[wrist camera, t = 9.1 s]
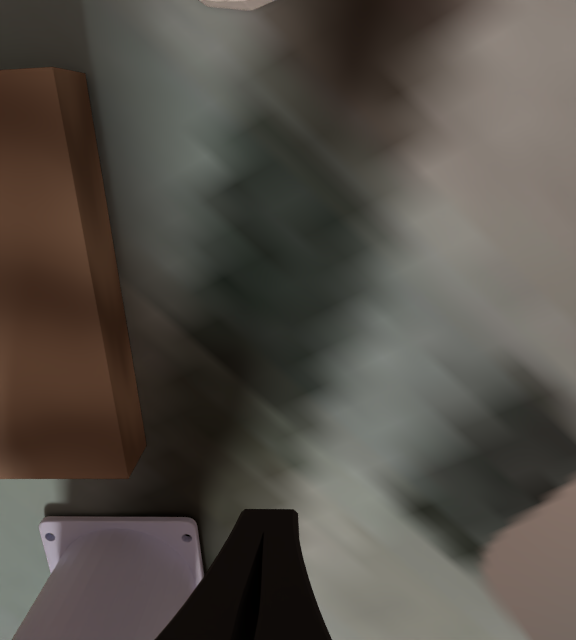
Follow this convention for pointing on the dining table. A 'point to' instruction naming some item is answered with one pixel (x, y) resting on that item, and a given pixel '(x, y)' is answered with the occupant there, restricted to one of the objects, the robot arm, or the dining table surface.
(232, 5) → the white cup
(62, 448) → the board
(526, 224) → the dining table surface
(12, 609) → the dining table surface
